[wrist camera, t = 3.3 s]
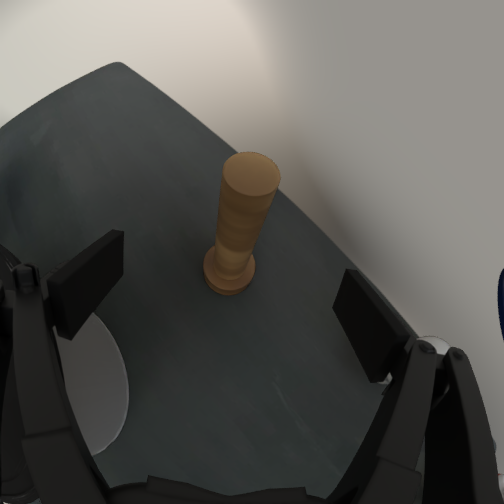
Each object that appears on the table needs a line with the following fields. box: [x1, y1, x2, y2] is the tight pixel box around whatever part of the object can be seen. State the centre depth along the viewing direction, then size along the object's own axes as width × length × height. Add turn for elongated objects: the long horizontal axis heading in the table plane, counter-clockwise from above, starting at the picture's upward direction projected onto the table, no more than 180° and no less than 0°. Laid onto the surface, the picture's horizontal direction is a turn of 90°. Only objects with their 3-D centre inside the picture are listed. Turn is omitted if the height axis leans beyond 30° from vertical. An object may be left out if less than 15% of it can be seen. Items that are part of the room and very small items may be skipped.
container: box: [0, 244, 129, 504], centre depth 14 cm, size 19×19×15 cm
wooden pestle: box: [203, 152, 280, 295], centre depth 22 cm, size 5×5×16 cm
